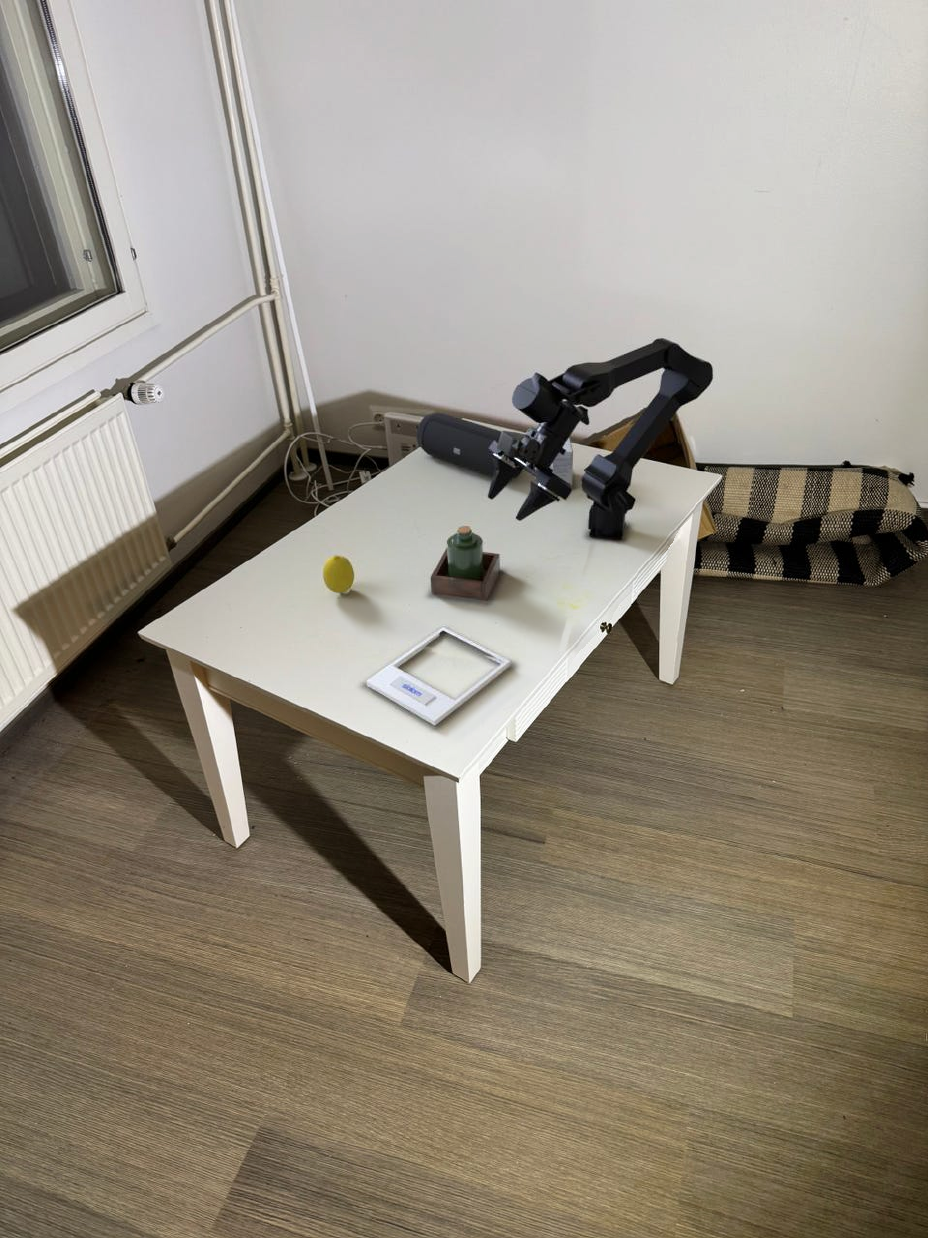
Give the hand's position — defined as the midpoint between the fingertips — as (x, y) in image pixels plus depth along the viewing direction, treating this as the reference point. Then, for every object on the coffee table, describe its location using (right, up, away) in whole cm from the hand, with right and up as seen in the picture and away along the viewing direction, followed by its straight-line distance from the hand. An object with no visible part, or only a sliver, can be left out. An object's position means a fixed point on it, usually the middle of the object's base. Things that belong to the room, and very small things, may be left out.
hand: (503, 508), depth 156 cm
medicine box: (+14, +10, +35) cm, 39 cm away
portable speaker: (-5, +15, +42) cm, 45 cm away
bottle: (-7, -13, +4) cm, 15 cm away
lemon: (-29, -15, +3) cm, 33 cm away
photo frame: (-11, -29, -17) cm, 35 cm away
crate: (-7, -13, +4) cm, 15 cm away
